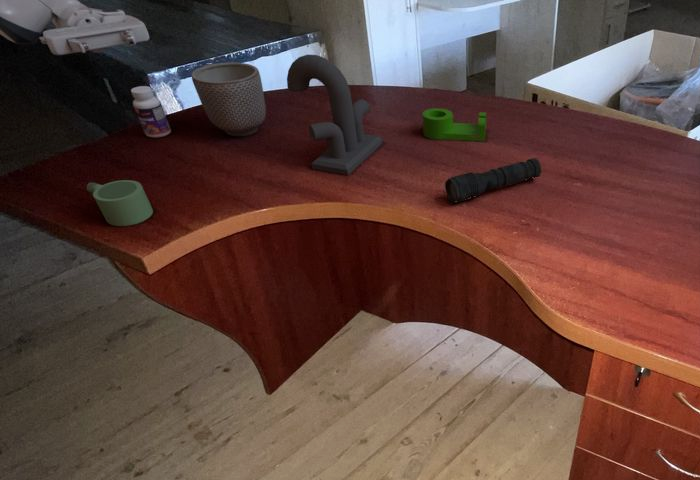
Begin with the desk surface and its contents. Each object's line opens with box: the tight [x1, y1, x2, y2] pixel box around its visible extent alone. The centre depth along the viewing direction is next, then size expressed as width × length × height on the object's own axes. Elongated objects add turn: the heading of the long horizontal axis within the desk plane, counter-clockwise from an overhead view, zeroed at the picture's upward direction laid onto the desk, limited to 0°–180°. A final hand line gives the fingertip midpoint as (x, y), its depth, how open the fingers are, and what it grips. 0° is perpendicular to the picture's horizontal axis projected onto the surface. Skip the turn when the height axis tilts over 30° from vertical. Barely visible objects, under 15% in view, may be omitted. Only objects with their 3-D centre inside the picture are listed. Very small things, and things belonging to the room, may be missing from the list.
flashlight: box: [444, 157, 542, 204], centre depth 109 cm, size 5×21×5 cm, turn 123°
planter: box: [191, 61, 267, 137], centre depth 122 cm, size 14×14×13 cm
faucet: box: [286, 54, 384, 176], centre depth 114 cm, size 18×16×20 cm
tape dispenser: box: [422, 107, 487, 142], centre depth 129 cm, size 15×7×5 cm, turn 89°
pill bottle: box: [130, 85, 172, 138], centre depth 120 cm, size 5×5×10 cm
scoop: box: [86, 179, 154, 227], centre depth 97 cm, size 12×8×5 cm, turn 65°
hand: (109, 44), depth 119 cm, fingers open, 8 cm apart
